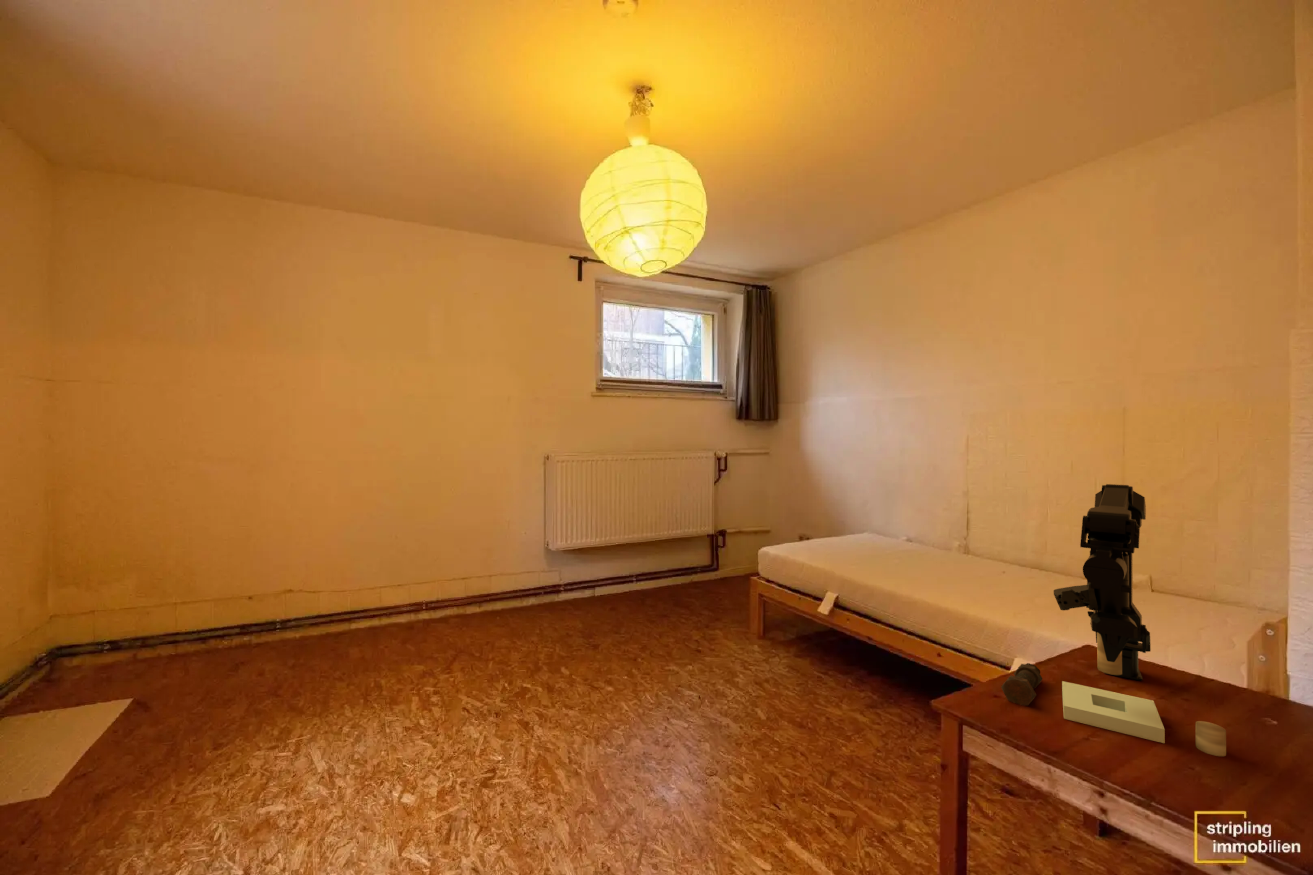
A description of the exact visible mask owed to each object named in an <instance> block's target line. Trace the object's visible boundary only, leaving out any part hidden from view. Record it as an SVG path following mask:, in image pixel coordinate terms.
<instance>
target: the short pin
mask: <svg viewBox="0 0 1313 875" xmlns="http://www.w3.org/2000/svg"><path fill="white" fill-rule="evenodd" d="M1195 747H1196V749H1198V750H1199V751H1201V752H1203V753H1205V754H1208V755H1212V756H1216V757H1226V756H1227V730H1226V728H1224V727H1222V725H1218V724H1216V723H1212V722H1209V721H1203V720H1198V721H1195Z"/></svg>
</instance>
